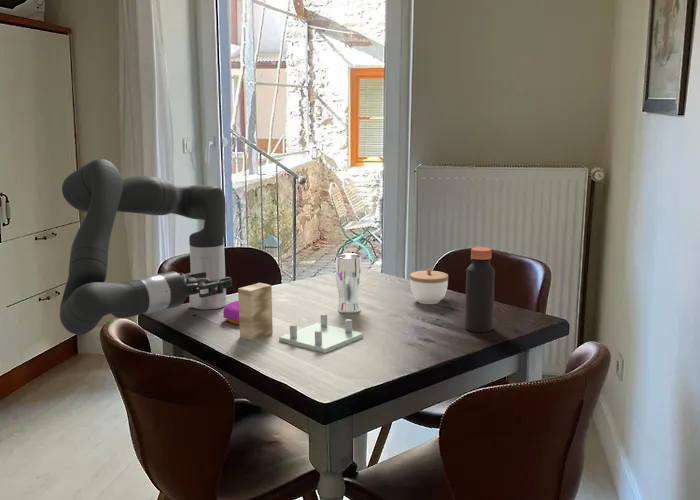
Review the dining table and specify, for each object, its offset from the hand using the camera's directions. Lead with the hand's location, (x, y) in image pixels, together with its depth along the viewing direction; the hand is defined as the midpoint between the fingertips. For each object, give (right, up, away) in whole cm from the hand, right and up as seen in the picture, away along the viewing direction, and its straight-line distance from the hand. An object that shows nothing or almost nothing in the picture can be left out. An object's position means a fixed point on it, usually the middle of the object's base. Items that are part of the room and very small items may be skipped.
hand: (217, 278), depth 157 cm
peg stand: (+23, -15, +9) cm, 28 cm away
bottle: (+61, -13, +16) cm, 65 cm away
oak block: (+7, -14, +12) cm, 20 cm away
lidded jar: (+52, -8, +42) cm, 67 cm away
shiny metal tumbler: (+29, -10, +33) cm, 45 cm away
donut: (+2, -12, +25) cm, 27 cm away
